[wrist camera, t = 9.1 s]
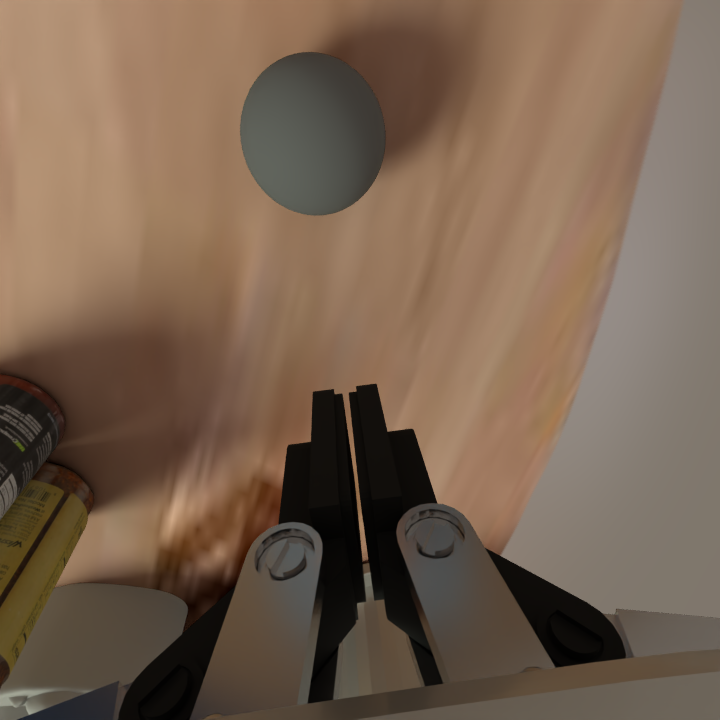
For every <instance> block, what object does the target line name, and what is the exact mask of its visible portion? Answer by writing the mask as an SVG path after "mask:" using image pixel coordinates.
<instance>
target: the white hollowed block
mask: <svg viewBox="0 0 720 720" xmlns="http://www.w3.org/2000/svg"><path fill="white" fill-rule="evenodd" d="M187 613H188V607H187V605H186V603H185V602H184V601H183V600H181V599H180V598H178V597H177V596H175V595H173V594H170V593H167V592H164V591H160V590H155V589H149V588H142V587H135V586H127V585H116V584H102V583H77V584H70V585H65V586H61V587H56V588H54V589H53V591H52V593H51V595H50V597H49V599H48V601H47V603H46V605H45V607H44V609H43V611H42V613H41V615H40V617H39V619H38V620H37V622H36V624H35V626H34V628H33V630H32V632H31V634H30V636H29V638H28V640H27V642H26V644H25V646H24V648H23V650H22V652H21V654H20V656H19V658H18V660H17V662H16V664H15V666H14V668H13V670H12V672H11V674H10V676H9V678H8V679H7V680H6V681H5V683H4V684H2V686H1V689H0V720H17V719H20V718H22V717H25V716H28V715H30V714H33V713H36V712H38V711H41V710H43V709H46V708H49V707H51V706H54V705H56V704H59V703H62V702H64V701H67V700H70V699H72V698H75V697H77V696H80V695H83V694H85V693H88V692H90V691H93V690H96V689H98V688H101V687H104V686H106V685H109V684H111V683H114V682H117V681H120V682H121V684H122V685H123V686H124V685H126V684H129V683H131V682H133V681H134V680H135V679H136V677H137V676H138V675H139V674H140V673H141V672H142V671H143V670H144V669H145V668H146V667H147V665H149V664H150V663H151V662H152V661H153V660H154V659H155V658H156V657H157V656H159V655H160V654H161V653H162V652H163V651H164V650H165V649H166V648H167V647H168V646H170V645H171V644H172V643H173V642H174V641H175V640H176V639H177V638H178V637H180V636H181V635H182V632H183V628H184V624H185V620H186V617H187Z"/></svg>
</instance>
